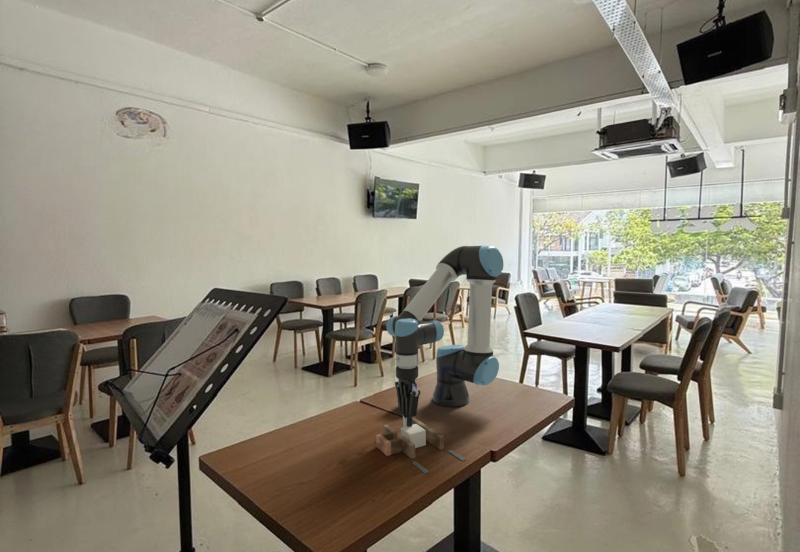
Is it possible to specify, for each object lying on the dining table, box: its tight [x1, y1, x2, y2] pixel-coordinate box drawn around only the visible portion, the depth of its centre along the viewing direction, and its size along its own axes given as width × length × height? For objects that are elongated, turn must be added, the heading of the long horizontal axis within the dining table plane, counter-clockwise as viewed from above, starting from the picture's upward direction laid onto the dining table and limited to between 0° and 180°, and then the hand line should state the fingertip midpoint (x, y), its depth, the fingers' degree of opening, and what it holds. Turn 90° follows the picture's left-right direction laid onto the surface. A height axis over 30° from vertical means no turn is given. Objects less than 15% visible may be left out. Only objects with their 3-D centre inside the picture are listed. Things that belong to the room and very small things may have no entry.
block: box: [400, 424, 427, 449], centre depth 142 cm, size 6×6×5 cm
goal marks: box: [411, 449, 467, 474], centre depth 130 cm, size 7×15×1 cm, turn 120°
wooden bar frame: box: [375, 417, 445, 459], centre depth 142 cm, size 18×18×4 cm
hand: (407, 434), depth 145 cm, fingers closed
